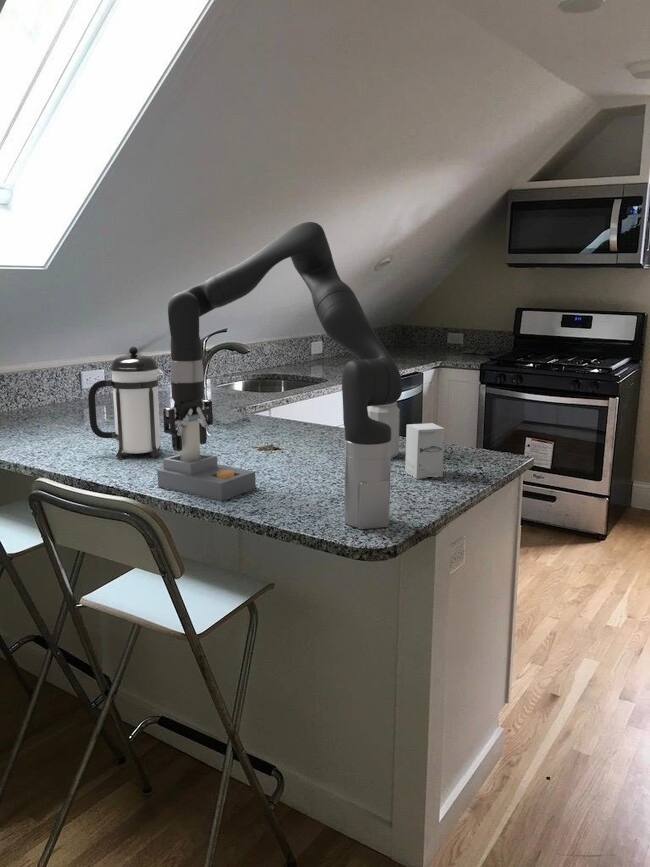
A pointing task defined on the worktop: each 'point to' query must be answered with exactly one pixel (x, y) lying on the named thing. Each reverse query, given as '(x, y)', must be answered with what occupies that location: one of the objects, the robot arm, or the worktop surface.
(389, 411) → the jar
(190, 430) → the cartridge
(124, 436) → the coffee press
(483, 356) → the worktop surface
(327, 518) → the worktop surface
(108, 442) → the worktop surface
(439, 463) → the supplement box
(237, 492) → the housing
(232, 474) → the button
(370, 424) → the robot arm
